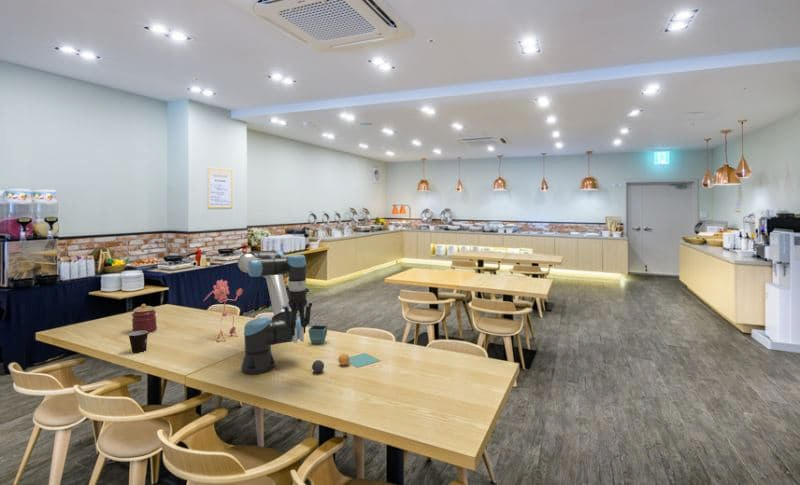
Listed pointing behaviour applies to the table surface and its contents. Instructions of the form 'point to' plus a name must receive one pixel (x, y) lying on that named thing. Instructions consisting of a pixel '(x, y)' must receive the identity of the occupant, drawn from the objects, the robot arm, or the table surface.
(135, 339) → the coffee mug
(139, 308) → the canister
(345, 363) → the orange ball
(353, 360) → the teal mark
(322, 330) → the flower pot
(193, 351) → the table surface
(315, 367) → the black ball
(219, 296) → the pink stick figure
